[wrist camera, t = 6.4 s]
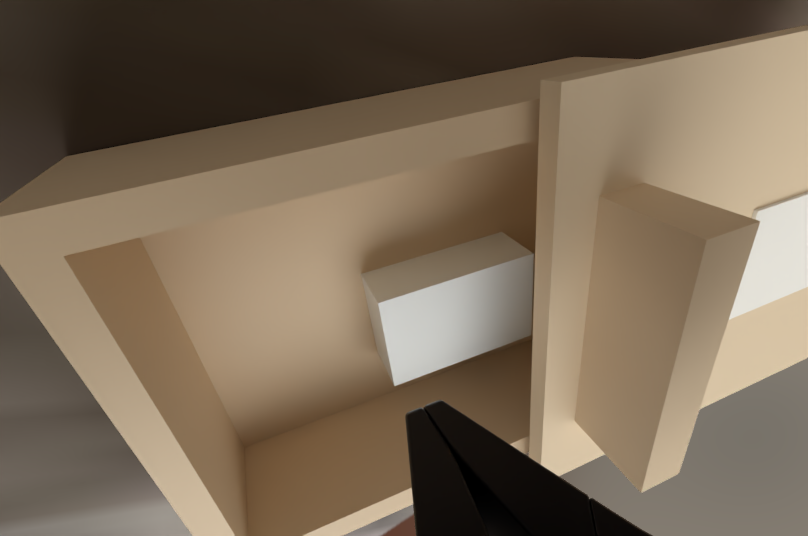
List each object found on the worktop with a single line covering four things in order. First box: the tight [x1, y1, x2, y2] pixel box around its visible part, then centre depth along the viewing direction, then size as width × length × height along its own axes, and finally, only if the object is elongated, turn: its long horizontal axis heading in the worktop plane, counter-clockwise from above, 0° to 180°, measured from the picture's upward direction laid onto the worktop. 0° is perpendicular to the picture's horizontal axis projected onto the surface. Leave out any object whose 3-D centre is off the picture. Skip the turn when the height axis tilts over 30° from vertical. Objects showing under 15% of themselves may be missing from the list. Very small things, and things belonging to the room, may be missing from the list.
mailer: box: [0, 57, 639, 536], centre depth 12 cm, size 14×11×4 cm
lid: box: [529, 25, 808, 493], centre depth 11 cm, size 14×12×3 cm
